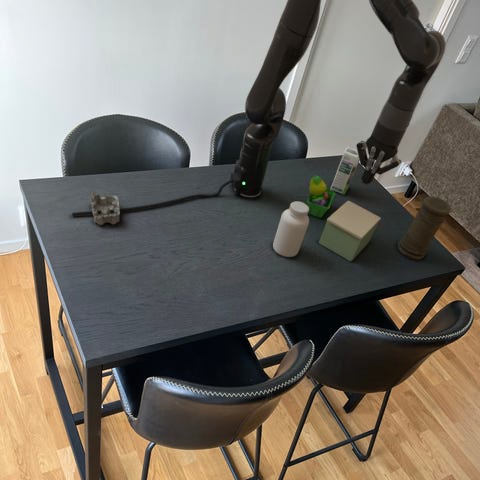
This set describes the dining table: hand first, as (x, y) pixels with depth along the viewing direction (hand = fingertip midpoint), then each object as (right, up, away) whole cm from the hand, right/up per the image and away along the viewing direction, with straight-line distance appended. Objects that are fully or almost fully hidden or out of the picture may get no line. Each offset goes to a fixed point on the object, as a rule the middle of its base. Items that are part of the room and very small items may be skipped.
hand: (365, 182), depth 128 cm
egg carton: (-73, -8, +5) cm, 74 cm away
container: (+20, -16, +22) cm, 34 cm away
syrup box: (+1, +9, +40) cm, 41 cm away
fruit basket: (-10, -1, +28) cm, 29 cm away
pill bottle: (-21, -17, +10) cm, 29 cm away
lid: (0, -8, +11) cm, 14 cm away
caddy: (-2, -14, +18) cm, 22 cm away
